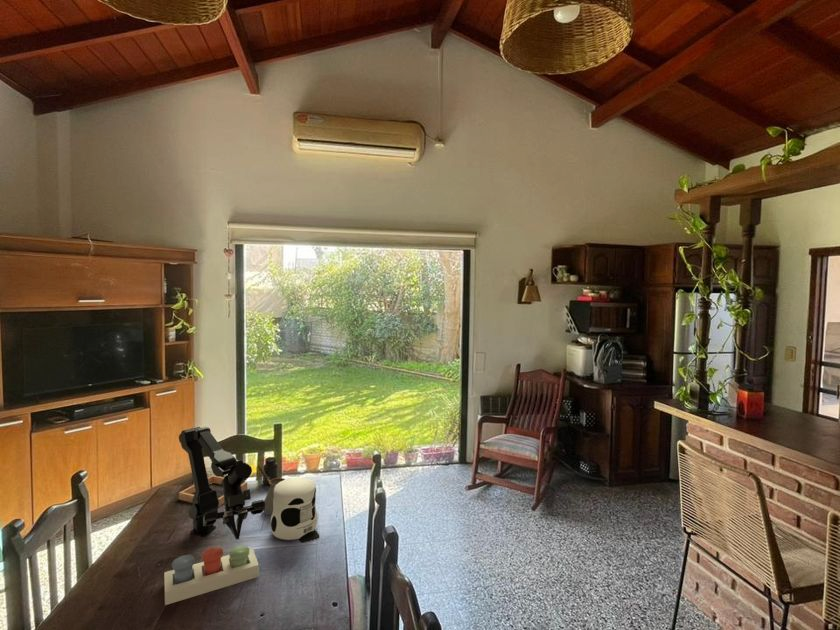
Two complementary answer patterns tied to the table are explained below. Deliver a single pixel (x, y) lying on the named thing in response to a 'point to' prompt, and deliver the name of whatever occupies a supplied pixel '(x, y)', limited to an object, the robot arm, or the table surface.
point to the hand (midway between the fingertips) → (237, 539)
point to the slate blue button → (183, 568)
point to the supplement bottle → (270, 470)
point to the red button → (212, 561)
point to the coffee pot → (270, 492)
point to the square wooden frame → (187, 493)
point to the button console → (209, 579)
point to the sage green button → (239, 556)
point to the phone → (310, 537)
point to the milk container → (294, 509)
